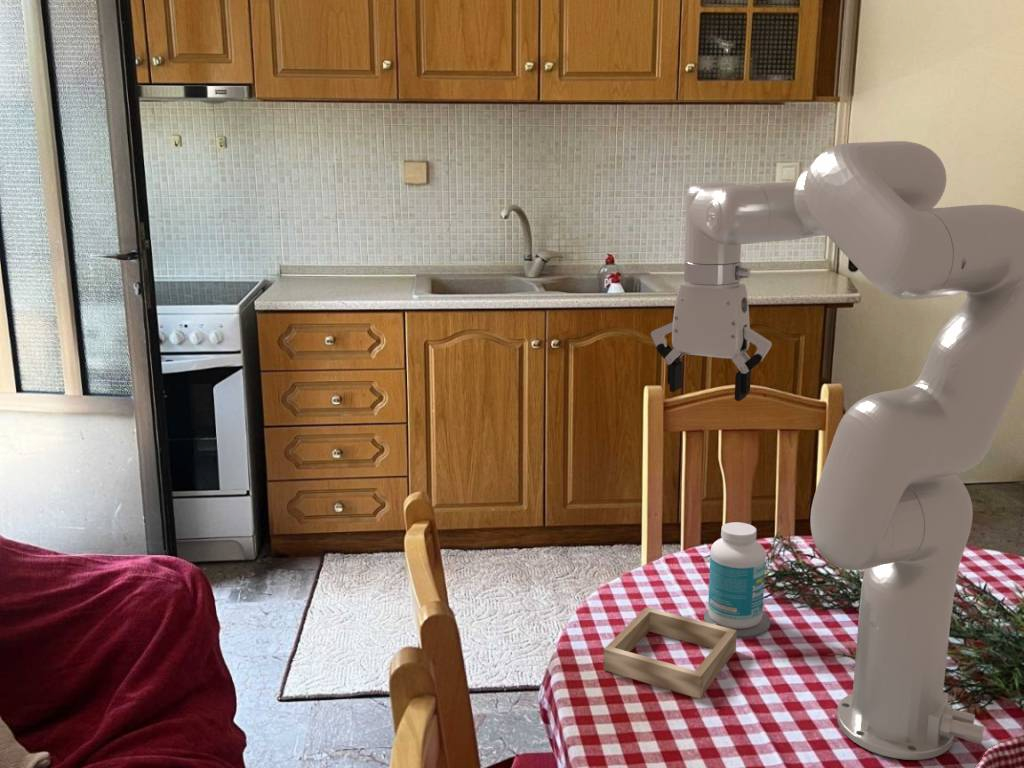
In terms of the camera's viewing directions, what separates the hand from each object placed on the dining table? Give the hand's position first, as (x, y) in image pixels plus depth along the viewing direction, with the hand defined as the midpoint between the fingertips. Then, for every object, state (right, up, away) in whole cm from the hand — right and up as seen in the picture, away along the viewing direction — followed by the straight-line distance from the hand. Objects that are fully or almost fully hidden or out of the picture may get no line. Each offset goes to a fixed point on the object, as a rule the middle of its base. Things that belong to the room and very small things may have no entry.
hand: (707, 394), depth 142 cm
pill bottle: (+3, -31, -2) cm, 32 cm away
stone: (+4, -32, -2) cm, 32 cm away
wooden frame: (-7, -35, -11) cm, 37 cm away
